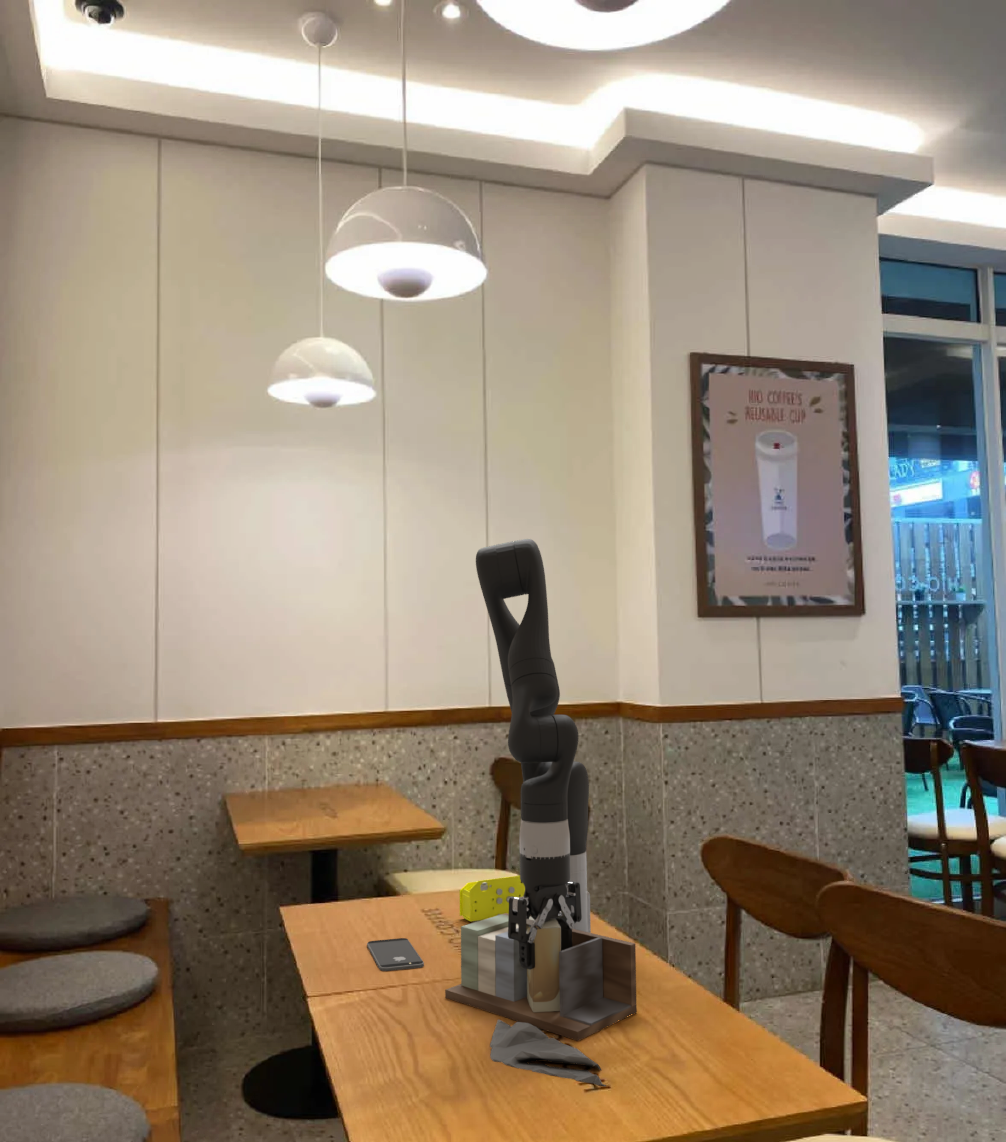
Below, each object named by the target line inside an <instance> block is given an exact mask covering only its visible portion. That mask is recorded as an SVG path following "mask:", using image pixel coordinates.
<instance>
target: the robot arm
mask: <svg viewBox="0 0 1006 1142" xmlns="http://www.w3.org/2000/svg"><path fill="white" fill-rule="evenodd" d="M475 567H476V569H475V570H476V572H477V573H476V574H477V578H478V583H479V585H480V590H481V593H482V596H483V600H484V602H485V606H486V609H487V614H488V617H489V620H490V624H491V627H492V631H493V635H494V638H495V643H496V648H497V652H498V653H497V654H498V657H499V663H500V668H501V674H502V678H503V683H504V687H505V692H506V696H507V700H508V704H509V707H510V712H511V717H510V718H511V719H510V722H509V729H508V736H507V748H508V750H509V753H510V754H511V756H512V757H513V758H514V759H515V761H517V762H519V763H520V765H521V766H520V767H521V774H522V784H521V786H520V828H519V875H520V880H521V882H522V883H523V884H524V886H525V892H524V896H523V897H513V896H511V897H510V899H509V917H508V938H509V939H513V940H517V941H518V942H519V961H520V964H521V966H522V967H523V968H526V969H529V970H531V969H533V968H535V943H533V941H534V939H535V936H536V934H537V929H541V928H542V926H543V924H544V922H546V921H548V920H550V919H551V918H552V919H556V920H557V921H558V924H559V925H560V927H561V951H562V950H565V949H568V948H571V947H572V929H576V930H580V931H584V932H589V933H592V932H591V894H590V892H589V891H588V883H587V882H588V874H587V871H588V869H587V840H588V830H589V829H588V828H589V827H588V826H589V798H590V782H589V780H590V779H589V774H588V771H587V770H588V769H587V768H586V766H585V765H584V764H583V762H580V761H575V757H576V754H577V750H578V745H579V730H578V727H577V724H576V723H575V721H574V720H573V718H571V716H569V715H567V714H555V713H556V710H557V708H558V706H559V701H560V698H561V697H560V696H561V693H560V685H559V682H558V676H557V672H556V666H555V662H554V660H553V657H552V652H551V644H550V632H549V631H550V629H549V608H548V607H549V606H548V596H547V595H548V593H547V584H546V573H545V568H544V561H543V558H542V553H541V551H540V548H539V546H538V544H537V542H536V541H534V540H533V539H531V538H524V539H519V540H514V541H513V540H512V541H508V542H504V543H498V544H494V545H489V546H485V547H481V548H480V549H478V550H477V552H476V555H475ZM524 595H525V596H526V595H528V597H527V606H526V609H525V612H524V615H523V618H522V620H521V621H520V624H519V622H518V620H516V619H515V617H514V616H513V614H512V612H511V611H510V609H509V608H508V606H507V604H506V601H505V600H506V599H510V598H515V597H519V596H524ZM529 917H532V918H533V919H534V920H530V919H529ZM516 924H518V931H516ZM528 927H531V928H530V930H529V933H528V934H526V931H527V929H528Z"/></svg>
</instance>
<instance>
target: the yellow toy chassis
mask: <svg viewBox="0 0 1006 1142" xmlns="http://www.w3.org/2000/svg"><path fill="white" fill-rule="evenodd" d="M524 892H525V886H524V884H523V883H522V882H521V880H520V874H519V875H512V876H506V877H505V876H504V877H497V878H489V879H481V880H477V881H471V882H470V881H469V882H466V884H465V885H464V886H463V887H461V889H459V916H460V917H462V918H463V919H464V920H466V921H468V922H471V923H474V922H478V921H481V920H484V919H488V918H491V917H494V916H498V915H501V914H504V913H507V914H509V899H510V897H511V896H513V897H523V896H524Z"/></svg>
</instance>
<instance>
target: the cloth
mask: <svg viewBox="0 0 1006 1142" xmlns="http://www.w3.org/2000/svg"><path fill="white" fill-rule="evenodd" d="M489 1047H490V1048H491V1049H490V1059H491V1060H492V1062H496V1063H502V1064H503V1065H506V1066H508V1067H512V1068H516V1069H521V1070H525V1071H532V1072H534V1073H538V1074H543V1075H547V1076H551V1077H552V1076H555V1077H558V1078H560V1079H561V1078H562V1079H571V1080H575V1081H577V1082H582V1083H587V1084H594V1085H597V1086H600V1087H602V1086H603V1087H607V1085H606V1084H604V1083H603V1082H602V1080H601V1079H600V1077H599V1076H598V1075H597V1074H593V1073H592V1072H590V1071H589V1070H588V1069H578V1068H566V1067H559V1066H553V1065H548V1064H547V1063H544V1061H545V1062H550V1063H554V1064H555V1063H556V1064H567V1065H568V1064H569V1065H578V1066H579V1065H580V1066H582V1065H583V1066H587V1067H588V1068H589V1067H590V1068H591V1069H592V1068H593V1067H595V1068H597V1069H598V1070H599V1071H602V1068H601V1067H600V1065H599V1064H598V1063H597V1062H595V1061H594V1060H592V1059H590V1058H589V1057H588V1056H586V1055H585V1053H583V1052H582V1051H581V1050H579V1049H578V1048H577V1047H574V1046H570V1045H568V1044H565V1043H563V1042H561V1041H559V1040H558V1039H556V1038H554V1037H549V1036H548V1035H547V1034H546V1033H544V1031H542V1029H540V1028H537V1027H535V1026H534V1025H532V1024H530V1023H524V1022H519V1021H516V1022H515V1023H513V1025H510V1024H508V1023H507V1022H505V1021H503V1020H501V1019H497V1021H496V1024H495V1028H494V1030H493V1033H492V1036H491V1040H490V1044H489ZM542 1061H543V1062H542Z"/></svg>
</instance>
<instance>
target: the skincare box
mask: <svg viewBox="0 0 1006 1142" xmlns="http://www.w3.org/2000/svg"><path fill="white" fill-rule="evenodd" d="M529 919H530V920H534V919H533V918H532V917H531V916H530V917H529ZM530 928H531V927H528V929H527V934H528V933H529V930H530ZM533 943H535V968H533V969H531V970H529V969H527V999H528V1002H529V1005H530V1007H531V1009H532V1011H533V1012H552V1011H560V986H559V952H560V951H561V927H560V925H559V924H558V921H557V920H556V919H552V918H551V919H550V920H548V921H546V922H544V924H543V926H542V928H541V929H537V934H536V936H535V939H534V941H533Z"/></svg>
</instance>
